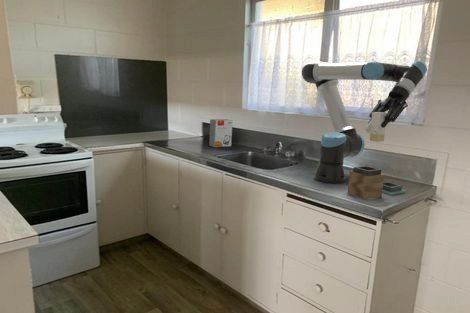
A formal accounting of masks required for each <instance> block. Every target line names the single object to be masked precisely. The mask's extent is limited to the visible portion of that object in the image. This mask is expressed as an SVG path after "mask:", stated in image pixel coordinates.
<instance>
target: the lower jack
mask: <svg viewBox="0 0 470 313" xmlns="http://www.w3.org/2000/svg"><path fill="white" fill-rule="evenodd" d="M383 193H384V194H386V195H389V196H393V195H400V194H405V193H406V190H405V189H403V185H401V184H397V183H395V182H394V183H393V182H391V181H386V180H385V181H384V182H383V189H382V194H383Z"/></svg>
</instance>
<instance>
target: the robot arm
mask: <svg viewBox="0 0 470 313" xmlns="http://www.w3.org/2000/svg"><path fill="white" fill-rule="evenodd" d="M427 71H428V67H427V66H426V64H425V63H424V62H422V61H419V60H417V61H416V60H415V61H413V62H411V63H410V64H409V65H401V64H394V63H386V62H385V63H384V62H379V61H368V62H345V63H344V62H341V63H339V62H338V63H331V62H328V61H319V60H318V61H316V60H312V61H308V62H306V63H305V64H304V65H303V67H302V69H301V77H302V79H303V80H304V81H305V82H306V83H308V84H313V85H314V84H315V86H316V89H317V91H319V92H320V93H321V95H322V98H323V101H324V104H325V107H326V109H327V113H328V116H329V118H330V121H331V124H332V127H333V130H334V132H326V133H324V134H323V135H322V136H321V141H320V149H319V150H320V151H319V160H318V161H319V163H318V164H317V167H316V170H315V172H314V177H313V178H314V179H315V180H316V181H318V182H319V181H320V182H322V183H327V184H342V183H346V173H345V168H344V158H349V157H350V158H353V157H356V156H359V155H361V154H362V153H363V151H364V149H365V145H366V144H365V139H364V137H363V136H362V135H361V134H358V133H357V130H356V128H355V127H354V126H352V125H351V122H350V119H349V117H348V114H347V110H346V108H345V105H344V103H343V100H342V97H341V94H340V91H339V88H338V84H339V80H341V81H342V80H347V81H348V80H350V81H353V80H354V81H357V80H359V81H362V80H363V81H385V82H395V84H394V85H393V87H392V88H391V90H390V91H389V92H388V96H387V97H386V98H385V99H383V100H382V99H378V101H377V104H376V105H375V107H374V108H373V109H372V110H371V112H370V113H369V117H370V120H369V121H368V124H367V125H366V127H365V128H364V129H365V131H366V133H367V134H370V131H371V120H372V112H384V113H387V115H386V116H385V117H384V118H385V119H384V118H383V119H382V120H381V121H380V123H379V124H378V125H377V127H376V128H375V129H374V131H375V132H376V134H379V133H380V132H381V130H382V129H383V128H384V127H385V128H386V127H387V125H388V124H389V123H390V122H392V123H394V122H395V121H396V120H397V119H398V118H399V116H401V114H402V112H403V111H404V110H405V109H406V108H407V107H408V106H409V104H408V103H407V99H408V98H410V95H411V94H412V93H413V91H414V90H415V88H416V87H417V86H418V84H419V83H420V82H421V81H422V80H423V79H424V76H425V75H426V73H427ZM387 111H388V112H387Z"/></svg>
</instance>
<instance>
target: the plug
mask: <svg viewBox="0 0 470 313" xmlns="http://www.w3.org/2000/svg"><path fill="white" fill-rule="evenodd" d="M371 112H372V111H371ZM387 113H388V112H385V113H384V112H372V120H371V119H370V120H371V131H370V132H369V141H370V142H371V141H372V142H375V143H376V142H378V143H379V142H384V141H385V136H386V134H385V133H386V126H385V127H384V128H383V129H382V130H381V132H380V133H379V134H376V132H375V131H374V129H375V128H376V127H377V125H378V124H379V123H380V121H381V120H382V119H383V118H384V117H385V116H386V115H387ZM384 119H385V118H384Z"/></svg>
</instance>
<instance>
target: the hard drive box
mask: <svg viewBox="0 0 470 313" xmlns="http://www.w3.org/2000/svg"><path fill="white" fill-rule="evenodd" d="M233 121H234V120H232V119H228V118H226V119H224V118H223V119H221V118H220V119H219V118H218V119H210V120H209V139H208V140H209V143H208V144H209V146H210V147H212V148H221V147H222V148H223V147H232V137H233Z"/></svg>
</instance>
